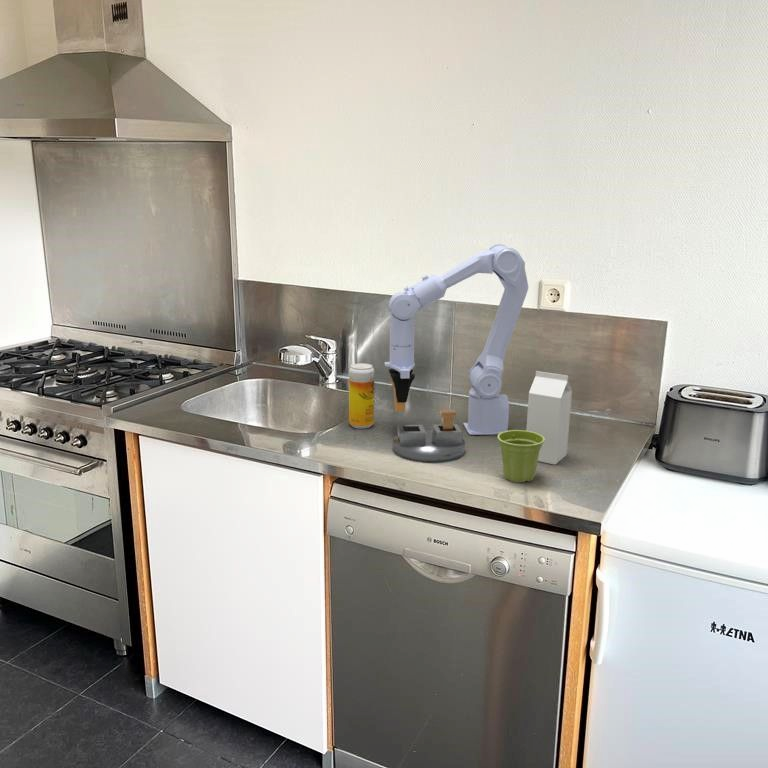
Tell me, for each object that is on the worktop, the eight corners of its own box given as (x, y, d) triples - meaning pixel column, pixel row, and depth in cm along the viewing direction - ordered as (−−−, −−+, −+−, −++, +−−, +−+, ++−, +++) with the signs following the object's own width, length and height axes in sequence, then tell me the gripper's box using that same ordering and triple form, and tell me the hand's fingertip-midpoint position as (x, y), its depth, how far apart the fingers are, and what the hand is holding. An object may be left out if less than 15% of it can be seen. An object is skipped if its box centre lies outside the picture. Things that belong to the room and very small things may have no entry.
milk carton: (555, 465, 163) (562, 379, 158) (524, 458, 166) (529, 374, 161) (566, 455, 168) (573, 372, 163) (536, 449, 172) (542, 367, 167)
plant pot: (489, 481, 154) (491, 440, 151) (502, 466, 162) (504, 427, 160) (535, 489, 150) (538, 447, 148) (546, 473, 158) (549, 433, 156)
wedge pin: (405, 408, 183) (405, 379, 181) (407, 410, 180) (406, 382, 179) (392, 409, 182) (391, 380, 180) (393, 411, 180) (392, 383, 178)
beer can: (370, 430, 183) (371, 369, 179) (346, 428, 185) (346, 368, 181) (376, 422, 189) (376, 363, 185) (352, 420, 190) (352, 362, 186)
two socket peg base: (457, 437, 179) (459, 400, 177) (471, 462, 164) (472, 422, 161) (389, 438, 178) (390, 401, 175) (396, 463, 162) (397, 423, 160)
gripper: (382, 338, 184) (381, 392, 187) (387, 351, 170) (387, 409, 173) (411, 337, 184) (410, 391, 188) (419, 351, 170) (418, 409, 174)
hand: (401, 400), depth 181 cm, fingers closed on wedge pin, 2 cm apart
